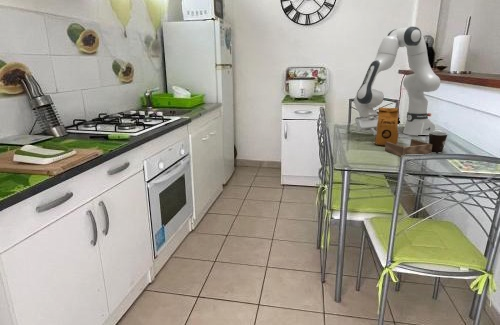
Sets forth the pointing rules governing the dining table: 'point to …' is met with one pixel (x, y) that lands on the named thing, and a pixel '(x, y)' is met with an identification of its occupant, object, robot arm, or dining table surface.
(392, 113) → the coffee package
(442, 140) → the coffee mug
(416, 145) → the frame
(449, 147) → the dining table surface
